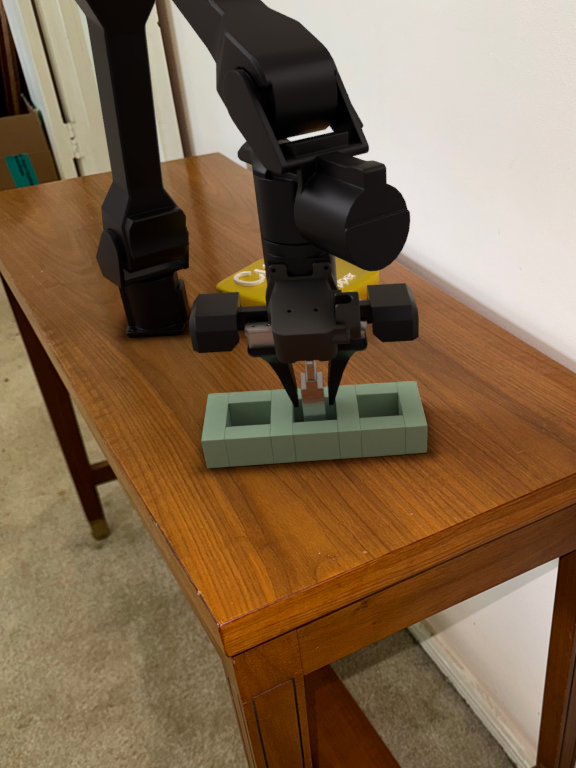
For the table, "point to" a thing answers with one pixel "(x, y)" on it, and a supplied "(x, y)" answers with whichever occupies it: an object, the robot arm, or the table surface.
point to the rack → (313, 426)
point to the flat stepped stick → (312, 393)
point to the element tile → (254, 281)
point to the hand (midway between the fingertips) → (314, 404)
